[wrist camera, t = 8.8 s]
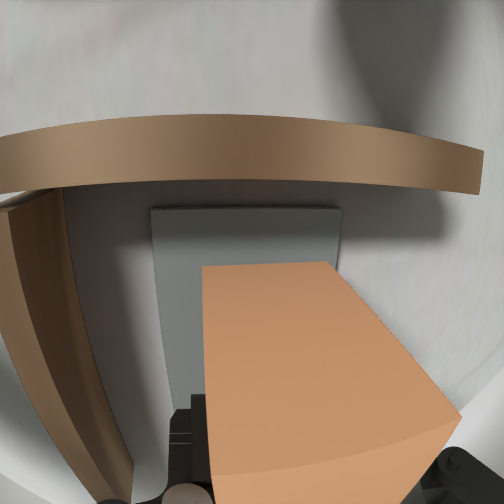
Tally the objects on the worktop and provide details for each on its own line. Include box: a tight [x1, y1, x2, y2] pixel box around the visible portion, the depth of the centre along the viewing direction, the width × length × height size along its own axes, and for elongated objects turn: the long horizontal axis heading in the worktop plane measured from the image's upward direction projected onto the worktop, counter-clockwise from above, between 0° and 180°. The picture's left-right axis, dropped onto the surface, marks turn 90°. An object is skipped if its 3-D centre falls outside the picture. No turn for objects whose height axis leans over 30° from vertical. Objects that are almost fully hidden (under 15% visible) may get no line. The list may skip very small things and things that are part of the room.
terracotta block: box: [202, 261, 462, 504], centre depth 9 cm, size 10×4×7 cm, turn 179°
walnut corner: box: [0, 114, 484, 504], centre depth 12 cm, size 16×19×4 cm
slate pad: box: [150, 206, 342, 412], centre depth 14 cm, size 7×13×1 cm, turn 179°
